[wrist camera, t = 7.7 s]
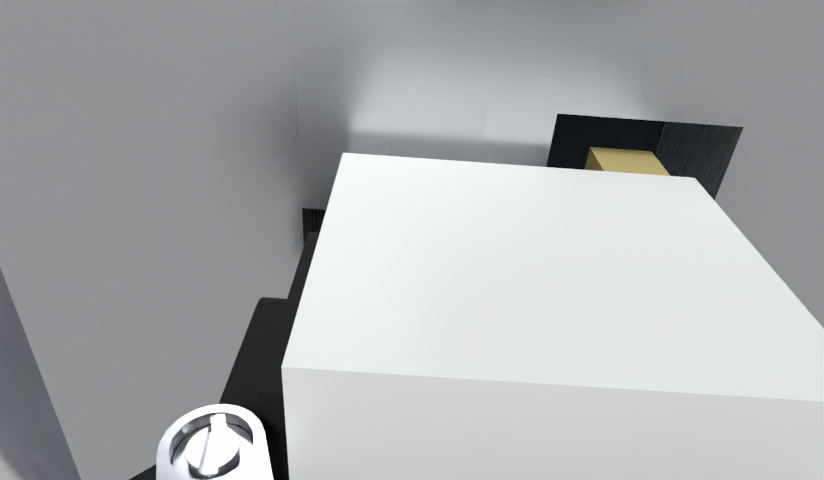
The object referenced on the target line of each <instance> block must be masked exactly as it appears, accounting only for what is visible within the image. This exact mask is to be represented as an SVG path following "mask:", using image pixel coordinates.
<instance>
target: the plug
mask: <svg viewBox="0 0 824 480" xmlns="http://www.w3.org/2000/svg"><path fill="white" fill-rule="evenodd" d="M281 369H282V383H283V397H284V411H285V425H286V439H287V453H288V467H289V480H824V328H823V327H822V326H821V325H820V324H819V323H818V321H817V320H816V319H815V318H814V317H813V316H812V314H811V313H810V312H809V311H808V310H807V309H806V307H805V306H804V305H803V304H802V303H801V302H800V300H799V299H798V298H797V297H796V296H795V294H794V293H793V292H792V291H791V290H790V289H789V287H788V286H787V285H786V284H785V283H784V282H783V280H782V279H781V278H780V277H779V276H778V275H777V273H776V272H775V271H774V270H773V269H772V268H771V266H770V265H769V264H768V263H767V262H766V261H765V259H764V258H763V257H762V256H761V255H760V254H759V252H758V251H757V250H756V249H755V248H754V246H753V245H752V244H751V243H750V242H749V241H748V239H747V238H746V237H745V236H744V235H743V234H742V232H741V231H740V230H739V229H738V228H737V227H736V225H735V224H734V223H733V222H732V221H731V220H730V218H729V217H728V216H727V215H726V214H725V213H724V211H723V210H722V209H721V208H720V207H719V206H718V204H717V203H716V202H715V201H714V200H713V198H712V197H711V196H710V195H709V194H708V193H707V191H706V190H705V189H704V188H703V187H702V186H701V184H700V183H699V182H698V181H697V180H696V179H695V178H692V177H678V176H670V175H669V173H668V172H667V171H666V169H665V168H664V167H663V166H662V164H661V163H660V162H659V160H658V159H657V158H656V157H655V155H654V154H653V153H652V152H651V151H640V150H626V149H612V148H598V147H590V149H589V153H588V157H587V161H586V165H585V169H584V170H580V169H566V168H552V167H538V166H524V165H510V164H496V163H482V162H468V161H454V160H440V159H426V158H412V157H398V156H384V155H370V154H356V153H343V154H342V158H341V161H340V164H339V168H338V171H337V175H336V178H335V182H334V185H333V189H332V192H331V196H330V199H329V203H328V206H327V210H326V213H325V217H324V220H323V224H322V227H321V231H320V234H319V238H318V241H317V244H316V248H315V251H314V255H313V258H312V262H311V265H310V269H309V272H308V276H307V279H306V283H305V286H304V290H303V293H302V297H301V300H300V304H299V307H298V311H297V314H296V318H295V321H294V324H293V328H292V331H291V335H290V338H289V342H288V345H287V349H286V352H285V356H284V359H283V363H282V366H281Z"/></svg>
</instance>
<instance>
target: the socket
mask: <svg viewBox="0 0 824 480" xmlns="http://www.w3.org/2000/svg"><path fill="white" fill-rule="evenodd" d="M557 114H571V115H585V116H598V117H612V118H626V119H639V120H653V121H665V122H664V125H663V128H662V132H661V135H660V138H659V141H658V144H657V147H656V150H655V154H654V155H655V157H656V158H657V159H658V160H659V162H660V163H661V164H662V166H663V167H664V168H665V169H666V171H667V172H668V173H669V175H670V176H678V177H692V178H695V179H696V180H697V181H698V182H699V183H700V184H701V186H702V187H703V188H704V189H705V190H706V191H707V193H708V194H709V195H710V196H711V197H712V198H713V200H714V201H715V202H716V203H717V204H718V206H719V207H720V208H721V209H722V210H723V211H724V213H725V214H726V215H727V216H728V217H729V218H730V220H731V221H732V222H733V223H734V224H735V225H736V227H737V228H738V229H739V230H740V231H741V232H742V234H743V235H744V236H745V237H746V238H747V239H748V241H749V242H750V243H751V244H752V245H753V246H754V248H755V249H756V250H757V251H758V252H759V254H760V255H761V256H762V257H763V258H764V259H765V261H766V262H767V263H768V264H769V265H770V266H771V268H772V269H773V270H774V271H775V272H776V273H777V275H778V276H779V277H780V278H781V279H782V280H783V282H784V283H785V284H786V285H787V286H788V287H789V289H790V290H791V291H792V292H793V293H794V294H795V296H796V297H797V298H798V299H799V300H800V302H801V303H802V304H803V305H804V306H805V307H806V309H807V310H808V311H809V312H810V313H811V314H812V316H813V317H814V318H815V319H816V320H817V321H818V323H819V324H820V325H821V326H822V327H823V328H824V0H0V268H1V270H2V273H3V276H4V278H5V281H6V283H7V286H8V289H9V291H10V294H11V297H12V299H13V302H14V304H15V307H16V310H17V312H18V315H19V318H20V320H21V323H22V325H23V328H24V331H25V333H26V336H27V338H28V341H29V344H30V346H31V349H32V352H33V354H34V357H35V359H36V362H37V365H38V367H39V370H40V373H41V375H42V378H43V380H44V383H45V386H46V388H47V391H48V394H49V396H50V399H51V401H52V404H53V407H54V409H55V412H56V415H57V417H58V420H59V422H60V425H61V428H62V430H63V433H64V435H65V438H66V441H67V443H68V446H69V449H70V451H71V454H72V456H73V459H74V462H75V464H76V467H77V470H78V472H79V475H80V477H81V480H129V479H131V478H132V477H134V476H136V475H138V474H139V473H141V472H143V471H145V470H146V469H148V468H150V467H152V466H153V465H155V464H156V456H157V451H158V446H159V442H160V441H161V439H162V437H163V436H164V434H165V432H166V431H167V429H168V428H169V427H171V426H172V425H173V424H174V423H175V422H176V421H177V420H178V419H179V418H181V417H183V416H184V415H186V414H188V413H189V412H191V411H193V410H196V409H199V408H202V407H205V406H208V405H218V404H219V401H220V399H221V396H222V393H223V391H224V388H225V386H226V383H227V380H228V378H229V375H230V373H231V370H232V367H233V365H234V362H235V360H236V357H237V354H238V352H239V349H240V347H241V344H242V341H243V339H244V336H245V334H246V331H247V328H248V326H249V323H250V321H251V318H252V315H253V313H254V310H255V308H256V305H257V303H258V301H259V299H260V298H262V297H268V298H283V299H287V298H288V294H289V291H290V288H291V285H292V282H293V279H294V276H295V272H296V269H297V266H298V263H299V260H300V257H301V254H302V251H303V247H304V244H305V241H306V238H307V235H308V233H309V232H317V233H320V231H321V227H322V224H323V220H324V217H325V213H326V210H327V206H328V203H329V199H330V196H331V192H332V189H333V185H334V182H335V178H336V175H337V171H338V168H339V164H340V161H341V158H342V154H343V153H356V154H370V155H384V156H398V157H412V158H426V159H440V160H454V161H468V162H482V163H496V164H510V165H524V166H538V167H546V165H547V161H548V156H549V151H550V147H551V142H552V137H553V132H554V128H555V123H556V118H557Z"/></svg>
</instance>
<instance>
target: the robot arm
mask: <svg viewBox="0 0 824 480" xmlns="http://www.w3.org/2000/svg"><path fill="white" fill-rule="evenodd" d="M319 234H320V233H317V232H309V233H308V235H307V238H306V241H305V244H304V247H303V251H302V254H301V257H300V260H299V263H298V266H297V269H296V272H295V276H294V279H293V282H292V285H291V288H290V291H289V294H288V298H287V299H283V298H268V297H262V298H260V299H259V301H258V303H257V305H256V308H255V310H254V313H253V315H252V318H251V321H250V323H249V326H248V328H247V331H246V334H245V336H244V339H243V341H242V344H241V347H240V349H239V352H238V354H237V357H236V360H235V362H234V365H233V367H232V370H231V373H230V375H229V378H228V380H227V383H226V386H225V388H224V391H223V393H222V396H221V399H220V401H219V404H218V405H208V406H205V407H202V408H199V409H196V410H193V411H191V412H189V413H188V414H186V415H184V416H183V417H181V418H179V419H178V420H177V421H176V422H175V423H174V424H173V425H172V426H171V427H169V428H168V429H167V431H166V432H165V434H164V436H163V437H162V439H161V441H160V442H159V446H158V451H157V456H156V464H155V465H153V466H152V467H150V468H148V469H146V470H145V471H143V472H141V473H139V474H138V475H136V476H134V477H132V478H131V479H129V480H289V467H288V453H287V439H286V425H285V411H284V397H283V383H282V369H281V366H282V363H283V359H284V356H285V352H286V349H287V345H288V342H289V338H290V335H291V331H292V328H293V324H294V321H295V318H296V314H297V311H298V307H299V304H300V300H301V297H302V293H303V290H304V286H305V283H306V279H307V276H308V272H309V269H310V265H311V262H312V258H313V255H314V251H315V248H316V244H317V241H318V238H319Z"/></svg>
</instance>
